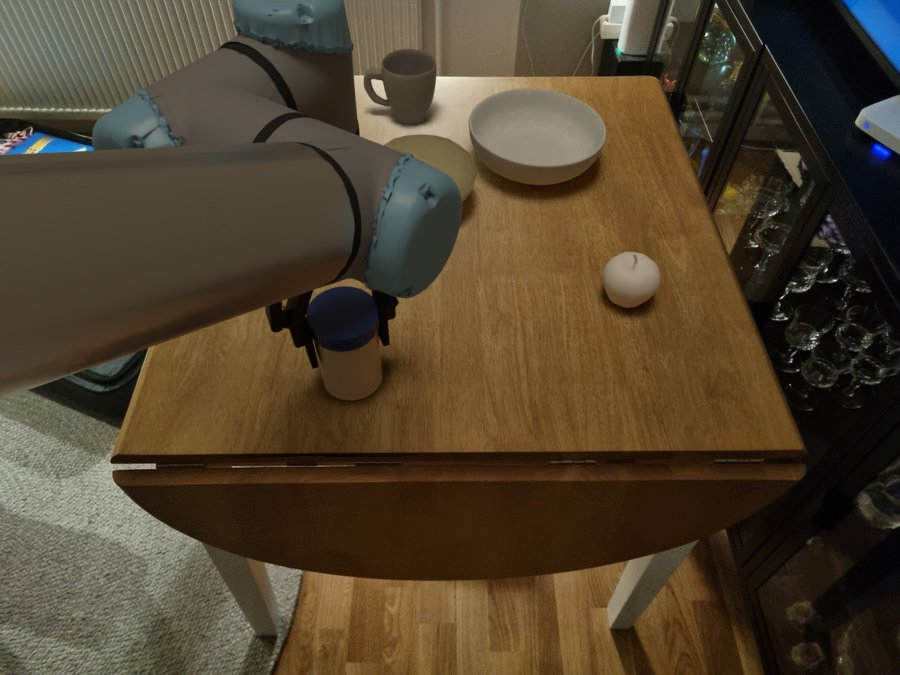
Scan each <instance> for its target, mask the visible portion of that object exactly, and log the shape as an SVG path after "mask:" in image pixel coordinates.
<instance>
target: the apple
mask: <svg viewBox="0 0 900 675" xmlns="http://www.w3.org/2000/svg"><path fill="white" fill-rule="evenodd" d="M602 284H603V286H604V290H605V292H606V295H607V297H608V299H609V300H610V302H612V304H614V305H617V306H618V307H622V308H624V309H625V308H626V309H628V308H635V307H639V306H640V305H642V304H644V303H645V302H647V301H648V300H650V299H651V298H652V297H653V296H654V295H655V294H656V292H657V291H658V290H659V287H660V285H661V272H660V268H659V266H658V265H657V263H656V262H655V261H654V260H652V258H650V257H649V256H647V254H644V253H642V252H635V251H624V252H621V253H619V254H617V255H615V256H613V257H612V258H610V260H608V261H607V263H606V265H605V266H604V269H603V271H602Z"/></svg>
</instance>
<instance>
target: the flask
mask: <svg viewBox="0 0 900 675" xmlns="http://www.w3.org/2000/svg"><path fill="white" fill-rule="evenodd" d="M382 145H383V146H386V147H388V148H391V149H394V150H396V151H399V152H401V153H404V152H409V153H411V154H412V155H413V156H414V157H415V158H417V159H419V160H421V161H423V162H425V163H427V164H429V165H431V166H432V167H434V168H436V169H438V170H440V171H442V172H444V173H446V174H448V175H449V176H450V177H451V178H452V179H453V180H454V181H455V182H456V184H457V186H458V188H459V190H460V194H461V198H462V203H463V202H464V201H465V200H467V198H468V197H469V196H470V195H471V193H472V191H473V189H474V187H475V183H476V179H477V175H478V173H477V170H476V167H475V164H474V162H473V159H472V157H471V154H470V152H469V151H468V150H466V149H465V148H464V147H462V146H461V145H459V143H457V142H455V141H454V140H451V139H450V138H448V137H443V136H439V135H433V134H421V133H420V134H409V135H403V136H402V135H401V136H398V137H395V138H392V139H391V140H390V141H388V142H386V143H385V144H382Z"/></svg>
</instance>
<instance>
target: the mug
mask: <svg viewBox="0 0 900 675" xmlns="http://www.w3.org/2000/svg"><path fill="white" fill-rule="evenodd" d="M372 80H376V81H381V82H382V85H383V89H384V93H385V97H386V98H383V97H381V96H380V95H378V94H377V92H376V91H375V89H374V86H373V83H372ZM436 83H437V61H436V59H435V57H434V56H433V55H432V54H431V53H429V52H427V51H424V50H421V49H416V48H403V49H397V50H394V51H391V52H389V53H388V54H386V55H385V56H384V57H383V59H382V60H381V68H373V67H371V68H368V70H366V71H365V73H364V75H363V88H364V90H365V92H366V94H367V96H368V97H369V99H370V100H371V101H372V102H373V103H374V104H377V105H380V106H384V107H390V109H391V111H392V112H393V114H394V117H395V120H396V121H397V122H398V123H401V124H403V125H408V126H409V125H410V126H412V125H417V124H421V123H422V122H424V121H425V120H426V118H427V114H428V113H429V110H430V108H431V105H432V103H433V100H434V96H435V91H436Z"/></svg>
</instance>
